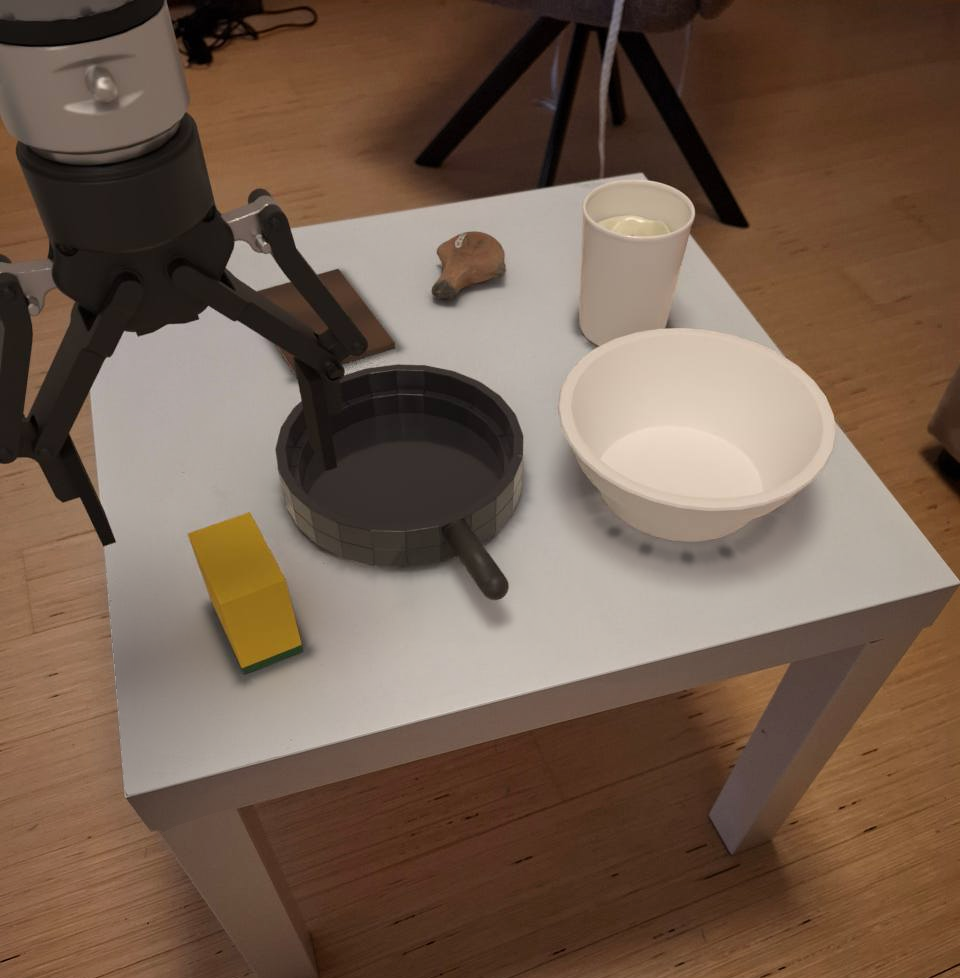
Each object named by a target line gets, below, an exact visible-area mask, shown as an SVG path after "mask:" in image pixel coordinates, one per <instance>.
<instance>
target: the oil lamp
mask: <svg viewBox="0 0 960 978" xmlns="http://www.w3.org/2000/svg"><path fill="white" fill-rule="evenodd" d="M435 253H436V255H437V257H438V259H439V261H440V263H441V266H442V269H443V271H442V272H441V274H440V277H439V278H438V279H437V280H436V281H435V283H434V284H433V285H432V286H431V294H432V296H433V297H435V298H436V299H440V300H444V299H448V300H452V299H455V298H456V296H457V295H458V293H459V292H460V291H461V290H462V289H464V288H466V287H468V286H472V285H477V284H479V283H482V282H486V281H489V280H491V279H494V278H497V277H499V278H500V277H501V276H503V275H504V274H505V273H506V272H507V269H506V262H505V260H506V259H505V258H506V255H505V250H504V248H503V245H502V244H501V242H500V241H499V240H498V239H496V238H495V237H493V236H492V235H491V234H488V233H486V232H483V231H476V230H475V231H473V230H472V231H471V230H470V231H465V232H462V233H459V234H456V235H455V236H453V237H451V238H450V239H448V240H446V241H444V242H442V243H441V244H439V245H438V247H437V248H436V252H435Z"/></svg>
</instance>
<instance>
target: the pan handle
mask: <svg viewBox="0 0 960 978" xmlns="http://www.w3.org/2000/svg"><path fill="white" fill-rule="evenodd" d="M444 536H445V538H446V540H447V541H448V543H449V544H450V546H451V547H452V549H453V550H454V552H455V553H456V555H457V556H456V557H457V558H458V559H459V561H460V562H461V564H462V565H463V567H464V568H465V570H467V572H468V574H469V575H470V577H471V578H472V580H473V582H474V583H475V584H476V586H477V587H478V589H479V590H480V592H481V593H482V595H484V597H485V598H487V599H488V600H490V601H491V600H492V601H500V600H501V599H503V598H505V597H506V595H507V594H508V592H509V588H510V585H509V580H508V579H507V577H506V575H505V574H504V572H503V571H502V570H501V568H500V567H499V565H498V563H496V561H495V560H494V558H493V557H492V556H491V554H490V553H489V551H488V550H487V548H486V547H485V546H484V545H483V543H481V542H480V540H479V539H478V537H477V536H476V535H475V533H474V532H473V530H472V529H471V528H470V526H469V525H468V523H467V522H466V521H464V520H456V521H454V522H452V523H451V524H449V525H448V526H447V528H446V529H445V532H444Z"/></svg>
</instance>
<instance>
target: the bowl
mask: <svg viewBox="0 0 960 978" xmlns="http://www.w3.org/2000/svg"><path fill="white" fill-rule="evenodd" d="M557 411H558V412H557V413H558V417H559V424H560V428H561V430H562V432H563V434H564V436H565V438H566V441H567V443H568V445H569V447H570V449H571V451H572V453H573V455H574V457H575V459H576V461H577V463H578V465H579V467H580V469H581V471H582V472H583V473H584V474H585V476H586V477H587V478H588V479H589V481H590V482H591V483H592V485H594V486H595V487H596V488H597V489H598V492H599V493H600V495H601V498H602V499H603V502H604V503H605V504H606V506H607V507H608V508H609V510H610V511H611V512H612V513H613V514H614V515H616V516H617V517H618V518H619V519H620V520H621V521H623V522H624V523H625V524H627V525H629V526H631V527H633V528H634V529H636V530H637V531H640V532H643V533H644V534H647V535H649V536H652V537H656V538H660V539H663V540H668V541H676V542H685V543H689V542H707V541H712V540H716V539H720V538H721V539H722V538H724V537H726V536H728V535H731V534H733V533H735V532H737V531H738V530H740V529H742V528H743V527H745V526H746V525H747V524H748V523H749V522H750V521H752V520H755V519H757V518H760V517H763V516H765V515H768V514H770V513H772V512H773V511H774V510H776V509H778V508H779V507H781V506H783V505H784V504H785V503H787V502H788V501H789V500H791V499H792V498H793V497H794V496H796V495H797V494H798V493H800V492H801V491H802V490H804V489H805V488H807V487H808V486H809V485H810V484H811V483H812V482H813V481H814V480H815V479H816V478H817V477H818V476H819V475H820V474H821V473H822V472H823V471H824V469H825V468H826V466H827V464H828V463H829V461H830V459H831V458H832V455H833V453H834V448H835V443H836V438H837V429H836V422H835V414H834V412H833V410H832V408H831V405H830V403H829V400H828V398H827V396H826V395H825V394H824V392H823V391H822V389H821V388H820V387H819V385H818V384H817V382H816V381H815V380H814V379H813V378H812V377H811V376H810V375H809V374H807V372H805V371H804V370H803V368H801V367H800V366H799V365H798V364H796V363H794V362H793V361H791V360H790V359H788V358H787V357H785V356H783V354H780V353H779V352H778V351H775V350H773V349H771V348H768V347H766V346H764V345H762V344H760V343H758V342H755V341H752V340H749V339H746V338H743V337H741V336H737V335H734V334H729V333H725V332H720V331H715V330H709V329H701V328H690V327H688V328H687V327H680V328H679V327H674V328H673V327H672V328H671V327H669V328H668V327H667V328H665V329H655V330H648V331H642V332H636V333H633V334H629V335H626V336H623V337H619V338H616V339H614V340H612V341H610V342H607V343H605V344H603V345H601V346H597V347H596V348H594V349H593V350H591V351H589V353H587V354H586V355H585V356H583V357H582V358H581V359H580V360H578V362H577V363H576V364H575V365H574V367H573V368H572V369H571V370H570V371H569V372H568V374H567V376H566V378H565V380H564V382H563V384H562V386H561V388H560V390H559V398H558V404H557Z"/></svg>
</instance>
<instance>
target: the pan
mask: <svg viewBox="0 0 960 978" xmlns="http://www.w3.org/2000/svg"><path fill="white" fill-rule="evenodd" d="M340 386H341V393H342V400H343V408H342V411H341V413H339V414H336V415H333V416H330V417H329V420H330V426H331V432H332V439H333V445H334V451H335V457H336V463H337V468H334V469H331V470H328V471H325V469H324V467H323V466H322V464H321V462H320V461H319V459H318V457H317V456H316V454H315V452H314V451H313V449H312V447H311V446H310V442H309V437H308V432H307V426H306V421H305V416H304V411H303V406H302V400H301V401H299V402H298V403H297V404H296V405H295V406H294V407H293V408H292V409H291V411H290V413H289V414H288V415H287V417H286V419H285V420H284V422H283V423H282V425H281V426H280V429H279V433H278V437H277V441H276V445H275V457H276V465H277V471H278V476H279V481H280V485H281V489H282V494H283V497H284V501H285V506H286V509H287V511H288V512H289V514H290V516H291V518H292V520H293V521H294V523H295V526H296V527H297V528H298V529H299V530H300V531H301V532H302V533H304V535H306V537H308V538H309V539H310V540H311V541H312V542H314V544H315V545H316V546H318V547H320V548H322V549H324V550H326V551H328V552H330V553H332V554H334V555H336V556H338V557H340V558H341V559H344V560H347V561H350V562H351V561H352V562H355V563H360V564H362V565H363V564H364V565H368V566H372V567H386V568H387V567H388V568H413V567H420V566H425V565H432V564H437V563H438V564H439V563H443V562H446V561H448V560H451V559H453V558H457V557H458V556H457V555H456V553H455V552H454V550H453V549H452V547H451V546H450V544H449V543H448V541H447V540H446V538H445V536H444V532H445V529H446V528H447V526H448V525H449V524H451V523H452V522H454V521H456V520H464V521H466V522H467V523H468V525H469V526H470V528H471V529H472V530H473V532H474V533H475V535H476V536H477V537H478V539H479V540H480V542H481V543H482V544H483V543H485V542H486V541H488V540H489V539H491V538H492V537H494V536H495V535H496V534H497V533H498V532H499V531H500V530H501V528H503V526H504V524H505V523H506V522H507V521H508V520H509V519H510V517H512V515H513V513H514V512H515V509H516V506H517V504H518V501H519V499H520V496H521V495H522V485H523V484H522V483H523V465H524V433H523V430H522V427H521V425H520V422H519V419H518V416H517V415H516V413H515V411H514V410H513V409H512V407H510V405H509V404H508V403H507V401H505V399H504V398H503V397H502V396H501V395H500V394H499V393H497V392H496V391H494V390H493V389H491V388H490V387H489V386H487V385H486V384H484V383H483V382H481V381H479V380H477V379H475V378H472V377H470V376H467V375H464V374H462V373H460V372H457V371H456V370H455V371H454V370H451V369H446V368H441V367H436V366H430V365H426V364H397V363H396V364H390V365H381V366H374V367H368V368H367V367H366V368H363V369H360V370H356V371H353V372H349V373H347V374H344V376H343V378H342V379H341V380H340Z"/></svg>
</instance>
